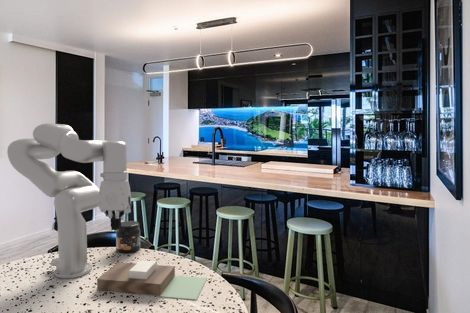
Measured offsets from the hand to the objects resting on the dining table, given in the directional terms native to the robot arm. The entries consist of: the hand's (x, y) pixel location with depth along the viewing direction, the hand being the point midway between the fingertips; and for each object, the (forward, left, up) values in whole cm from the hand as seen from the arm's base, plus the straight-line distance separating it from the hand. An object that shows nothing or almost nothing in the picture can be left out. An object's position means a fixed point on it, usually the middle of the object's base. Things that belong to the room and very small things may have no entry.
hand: (115, 229), depth 110 cm
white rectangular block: (+10, 0, -14) cm, 17 cm away
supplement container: (-10, +30, -19) cm, 37 cm away
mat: (+25, 0, -19) cm, 31 cm away
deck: (+8, 0, -19) cm, 21 cm away
